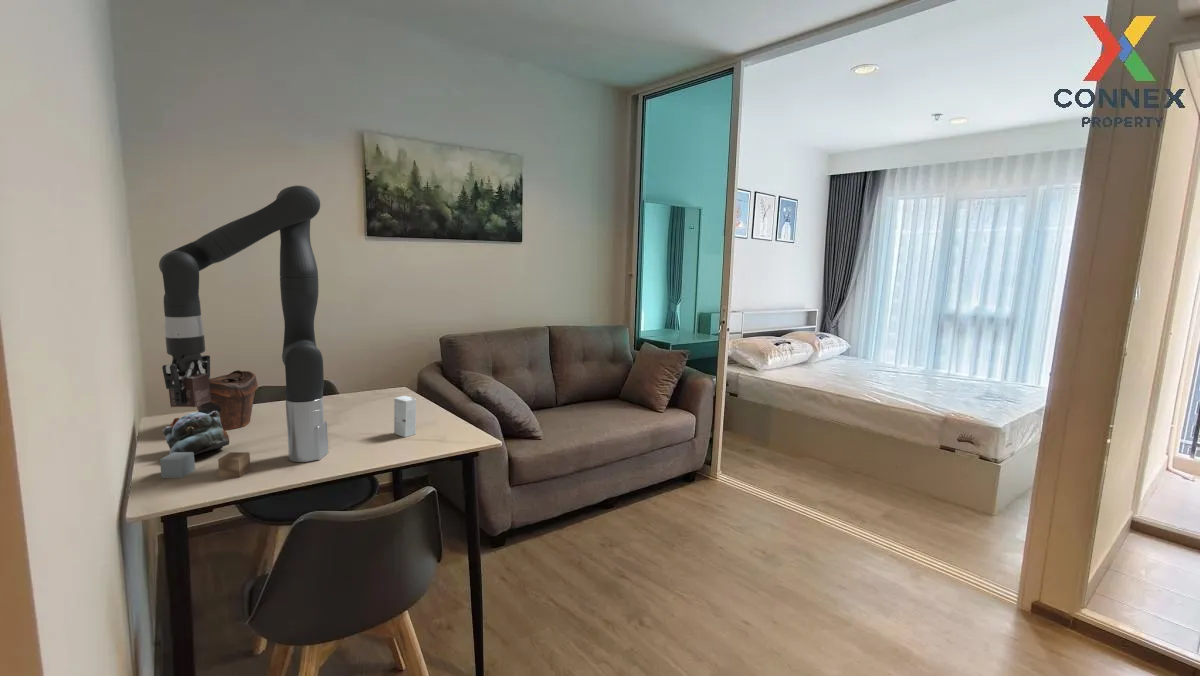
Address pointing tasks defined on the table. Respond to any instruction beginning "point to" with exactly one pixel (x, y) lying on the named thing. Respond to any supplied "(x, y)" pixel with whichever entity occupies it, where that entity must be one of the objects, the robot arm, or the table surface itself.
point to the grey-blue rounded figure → (196, 433)
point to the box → (194, 391)
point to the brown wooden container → (232, 398)
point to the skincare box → (405, 416)
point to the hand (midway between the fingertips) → (190, 400)
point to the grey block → (177, 464)
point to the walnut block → (234, 464)
